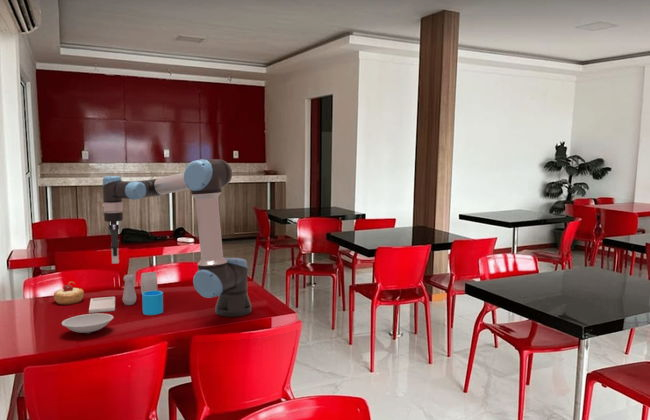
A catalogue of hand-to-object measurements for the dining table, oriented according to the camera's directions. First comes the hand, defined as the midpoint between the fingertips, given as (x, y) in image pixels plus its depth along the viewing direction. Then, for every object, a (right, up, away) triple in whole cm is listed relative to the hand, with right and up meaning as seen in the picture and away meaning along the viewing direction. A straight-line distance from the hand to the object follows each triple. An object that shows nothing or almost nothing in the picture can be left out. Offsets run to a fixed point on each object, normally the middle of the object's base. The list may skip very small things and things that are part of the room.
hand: (115, 260), depth 229 cm
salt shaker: (+5, -20, +3) cm, 20 cm away
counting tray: (-5, -20, -1) cm, 20 cm away
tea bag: (+8, -18, +20) cm, 28 cm away
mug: (+18, -21, -6) cm, 29 cm away
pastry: (-22, -19, +4) cm, 30 cm away
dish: (+3, -24, -33) cm, 41 cm away
